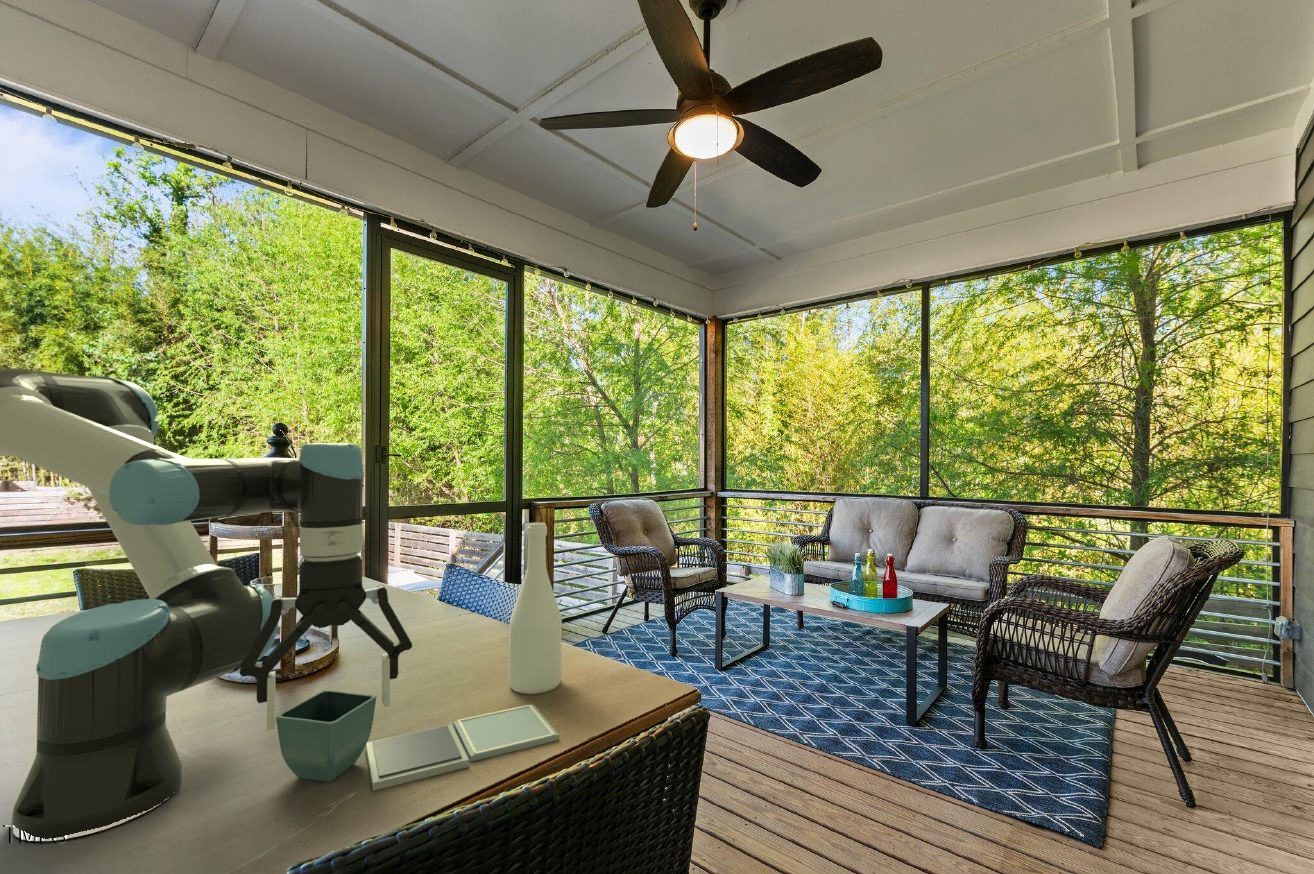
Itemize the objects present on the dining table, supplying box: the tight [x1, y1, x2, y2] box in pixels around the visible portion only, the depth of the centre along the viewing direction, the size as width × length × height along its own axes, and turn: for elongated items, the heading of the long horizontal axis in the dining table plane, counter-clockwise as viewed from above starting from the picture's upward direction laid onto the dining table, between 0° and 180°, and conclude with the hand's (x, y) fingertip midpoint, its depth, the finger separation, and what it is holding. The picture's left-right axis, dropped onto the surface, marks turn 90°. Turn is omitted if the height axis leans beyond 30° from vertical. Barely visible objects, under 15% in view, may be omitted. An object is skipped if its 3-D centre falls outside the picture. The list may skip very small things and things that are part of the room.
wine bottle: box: [508, 521, 563, 695], centre depth 111 cm, size 10×10×30 cm
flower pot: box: [275, 689, 377, 783], centre depth 81 cm, size 9×9×9 cm
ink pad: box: [365, 723, 470, 791], centre depth 84 cm, size 12×12×1 cm
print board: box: [452, 704, 560, 763], centre depth 92 cm, size 13×12×1 cm
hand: (330, 713), depth 81 cm, fingers open, 13 cm apart
